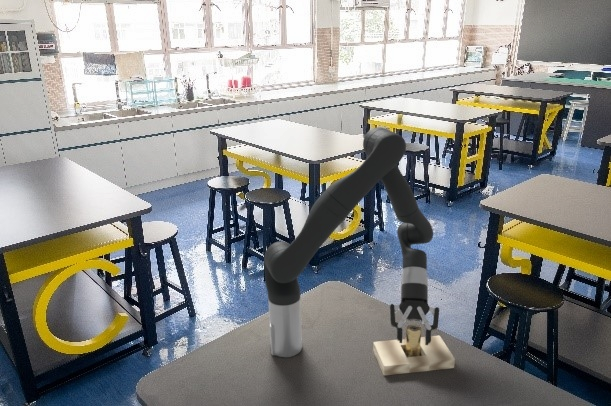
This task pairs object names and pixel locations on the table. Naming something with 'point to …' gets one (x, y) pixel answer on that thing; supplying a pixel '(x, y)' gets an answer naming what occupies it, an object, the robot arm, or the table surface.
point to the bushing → (413, 341)
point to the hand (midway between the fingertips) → (413, 343)
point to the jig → (397, 362)
